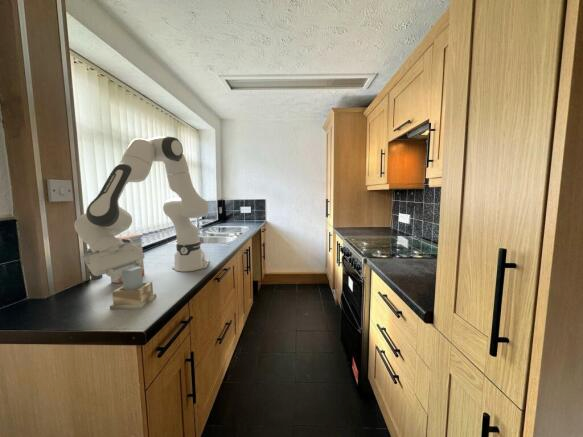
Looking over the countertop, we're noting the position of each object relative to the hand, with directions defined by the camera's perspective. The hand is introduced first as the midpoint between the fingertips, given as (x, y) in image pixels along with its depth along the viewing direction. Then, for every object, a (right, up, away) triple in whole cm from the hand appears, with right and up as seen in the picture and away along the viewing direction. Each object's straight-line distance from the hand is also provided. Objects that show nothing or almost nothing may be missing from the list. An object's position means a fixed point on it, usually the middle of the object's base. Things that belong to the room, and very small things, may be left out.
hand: (130, 275), depth 97 cm
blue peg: (+1, -9, +1) cm, 10 cm away
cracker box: (-20, -8, +29) cm, 36 cm away
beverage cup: (-37, -9, +31) cm, 49 cm away
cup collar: (+1, -11, +1) cm, 11 cm away
